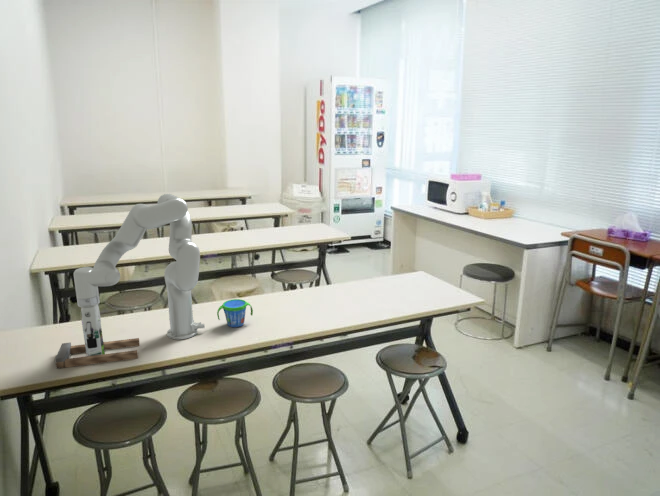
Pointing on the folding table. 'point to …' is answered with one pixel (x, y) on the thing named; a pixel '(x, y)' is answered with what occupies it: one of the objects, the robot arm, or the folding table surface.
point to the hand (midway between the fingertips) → (93, 342)
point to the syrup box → (99, 338)
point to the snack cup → (235, 312)
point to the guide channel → (66, 350)
